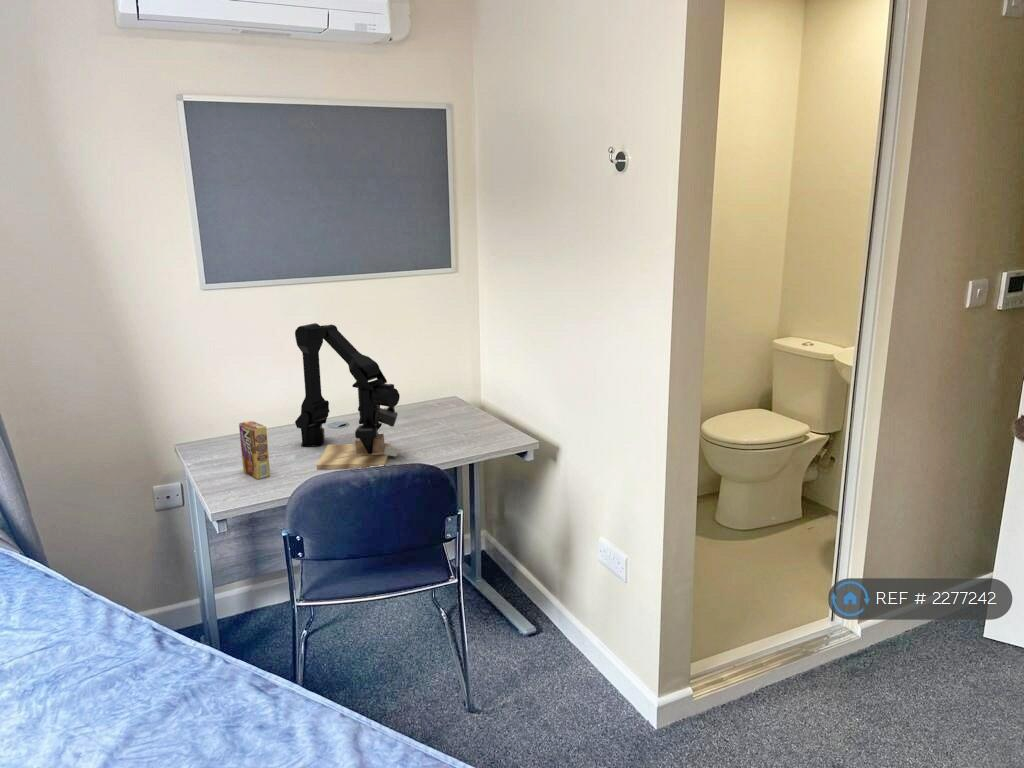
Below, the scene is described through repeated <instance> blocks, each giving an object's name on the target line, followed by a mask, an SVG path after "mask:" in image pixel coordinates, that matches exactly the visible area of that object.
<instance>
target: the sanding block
mask: <svg viewBox="0 0 1024 768" xmlns="http://www.w3.org/2000/svg"><path fill="white" fill-rule="evenodd" d="M354 442H355V443H354V444H356V452H357V456H368V455H381V454H384V449H385V443H386V442H385V437H384V433H378V435H377V437H375V438H374V442H373V450H372V454H368V452H367V450H366V449H365V447H364V445H363V443H362V442H361V440H360V439H359V438H356V437H355V440H354Z"/></svg>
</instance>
